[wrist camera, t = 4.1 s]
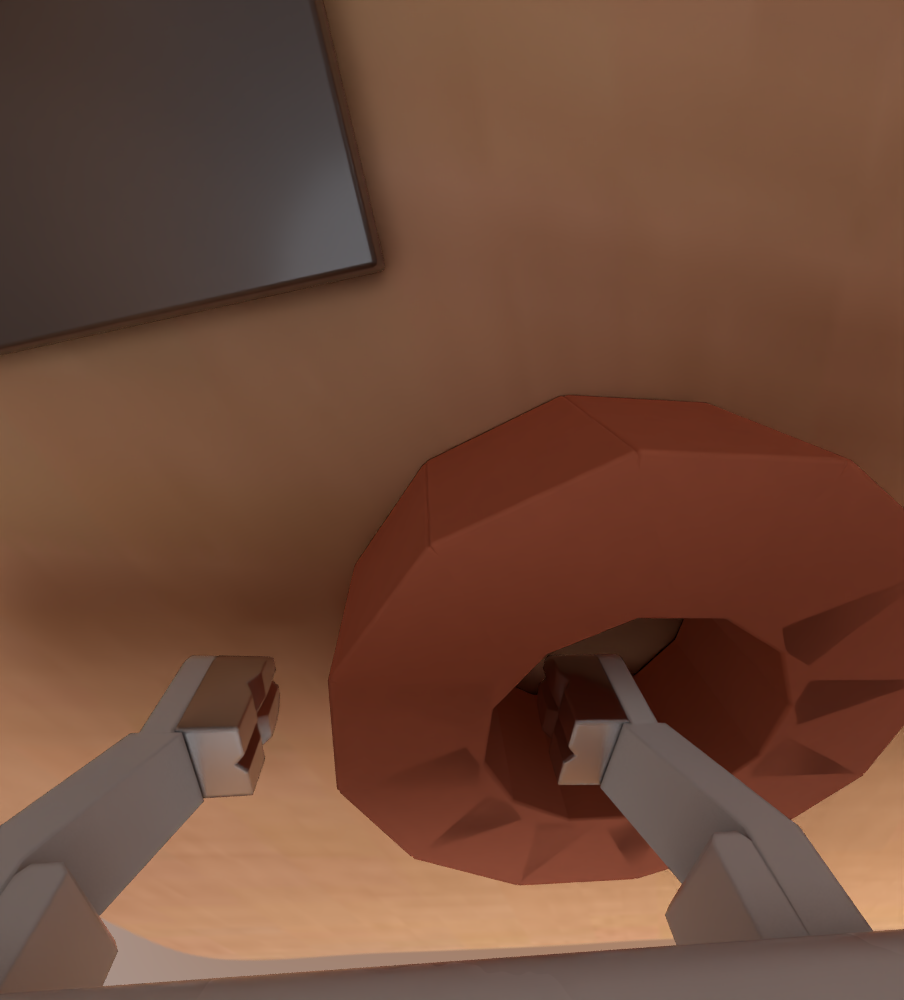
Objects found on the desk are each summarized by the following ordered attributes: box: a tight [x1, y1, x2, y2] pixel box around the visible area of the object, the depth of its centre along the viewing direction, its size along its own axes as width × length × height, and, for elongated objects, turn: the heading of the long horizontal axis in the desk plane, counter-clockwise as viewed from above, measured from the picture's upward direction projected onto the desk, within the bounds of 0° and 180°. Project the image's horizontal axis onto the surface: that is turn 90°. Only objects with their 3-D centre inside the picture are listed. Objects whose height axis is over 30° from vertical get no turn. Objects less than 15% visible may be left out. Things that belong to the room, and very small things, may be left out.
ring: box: [328, 395, 904, 885], centre depth 9 cm, size 11×11×3 cm
